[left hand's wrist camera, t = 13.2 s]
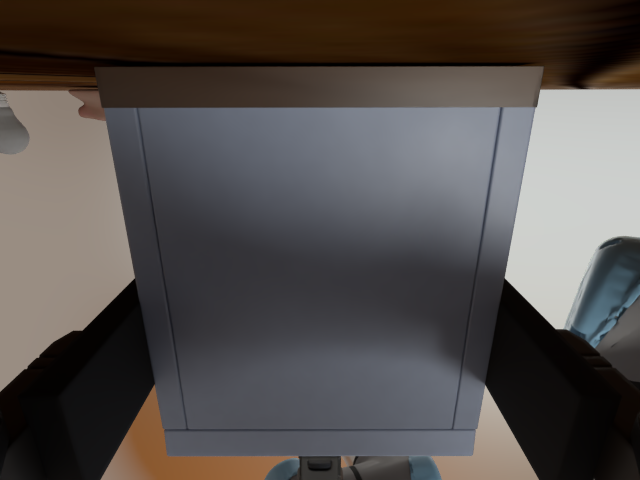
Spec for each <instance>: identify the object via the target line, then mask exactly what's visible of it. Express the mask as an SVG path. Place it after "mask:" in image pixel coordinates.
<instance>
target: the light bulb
mask: <svg viewBox="0 0 640 480" xmlns="http://www.w3.org/2000/svg"><path fill="white" fill-rule="evenodd" d="M5 95H6V94H4V93H1V92H0V153H4V154H16V153H19V152H21V151H23V150H24V149H25V148H26V147H27V145H28V143H29V134H28V131H27V130H26V128H25V127H24V126H23V125H22V123H21V122H20V121H19V120H18V119H17V118H16V117H15V115H14V113H13V111H12V109H11V108H10V107H9V104H8V103H7V101H6V99H7V98H6V96H5Z"/></svg>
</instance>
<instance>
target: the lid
mask: <svg viewBox="0 0 640 480" xmlns="http://www.w3.org/2000/svg"><path fill="white" fill-rule="evenodd" d="M475 432H476V431H475V429H453V427H452V428H451V429H188V426H187V428H186V429H165V430H164V433H165V442H166V450H167V455H168V456H472V455H473V449H474V440H475Z"/></svg>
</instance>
